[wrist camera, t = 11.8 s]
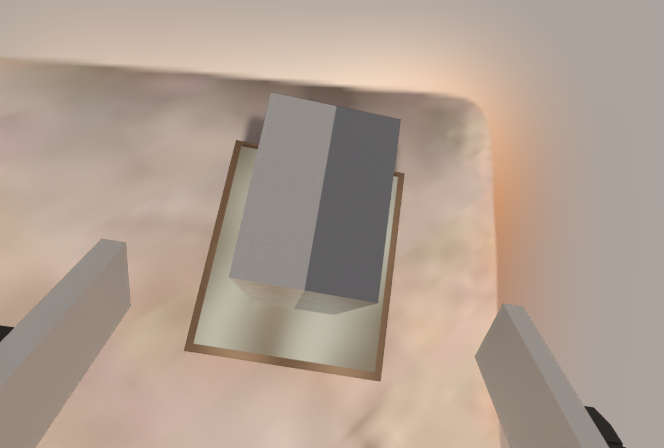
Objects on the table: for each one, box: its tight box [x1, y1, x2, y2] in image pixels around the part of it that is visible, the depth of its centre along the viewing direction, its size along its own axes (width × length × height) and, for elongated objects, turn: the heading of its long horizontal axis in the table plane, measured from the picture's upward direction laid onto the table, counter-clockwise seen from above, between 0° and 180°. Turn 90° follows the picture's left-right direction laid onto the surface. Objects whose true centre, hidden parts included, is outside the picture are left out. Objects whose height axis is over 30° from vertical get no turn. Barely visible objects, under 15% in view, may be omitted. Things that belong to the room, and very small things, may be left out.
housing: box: [228, 93, 401, 315], centre depth 20 cm, size 5×7×12 cm
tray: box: [184, 140, 404, 381], centre depth 27 cm, size 12×14×3 cm
